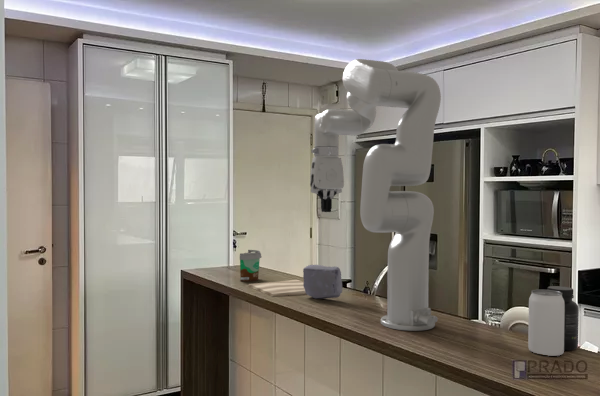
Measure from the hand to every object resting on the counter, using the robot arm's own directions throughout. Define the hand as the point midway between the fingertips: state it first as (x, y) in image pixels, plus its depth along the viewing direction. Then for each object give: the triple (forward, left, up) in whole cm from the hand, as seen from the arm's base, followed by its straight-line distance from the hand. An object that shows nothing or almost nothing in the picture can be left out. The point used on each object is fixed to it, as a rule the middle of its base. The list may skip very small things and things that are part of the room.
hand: (326, 211), depth 166 cm
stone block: (-10, +7, -25) cm, 28 cm away
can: (-73, -7, -25) cm, 78 cm away
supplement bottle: (-71, -14, -25) cm, 77 cm away
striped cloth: (+8, +10, -25) cm, 28 cm away
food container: (+30, +12, -25) cm, 41 cm away
